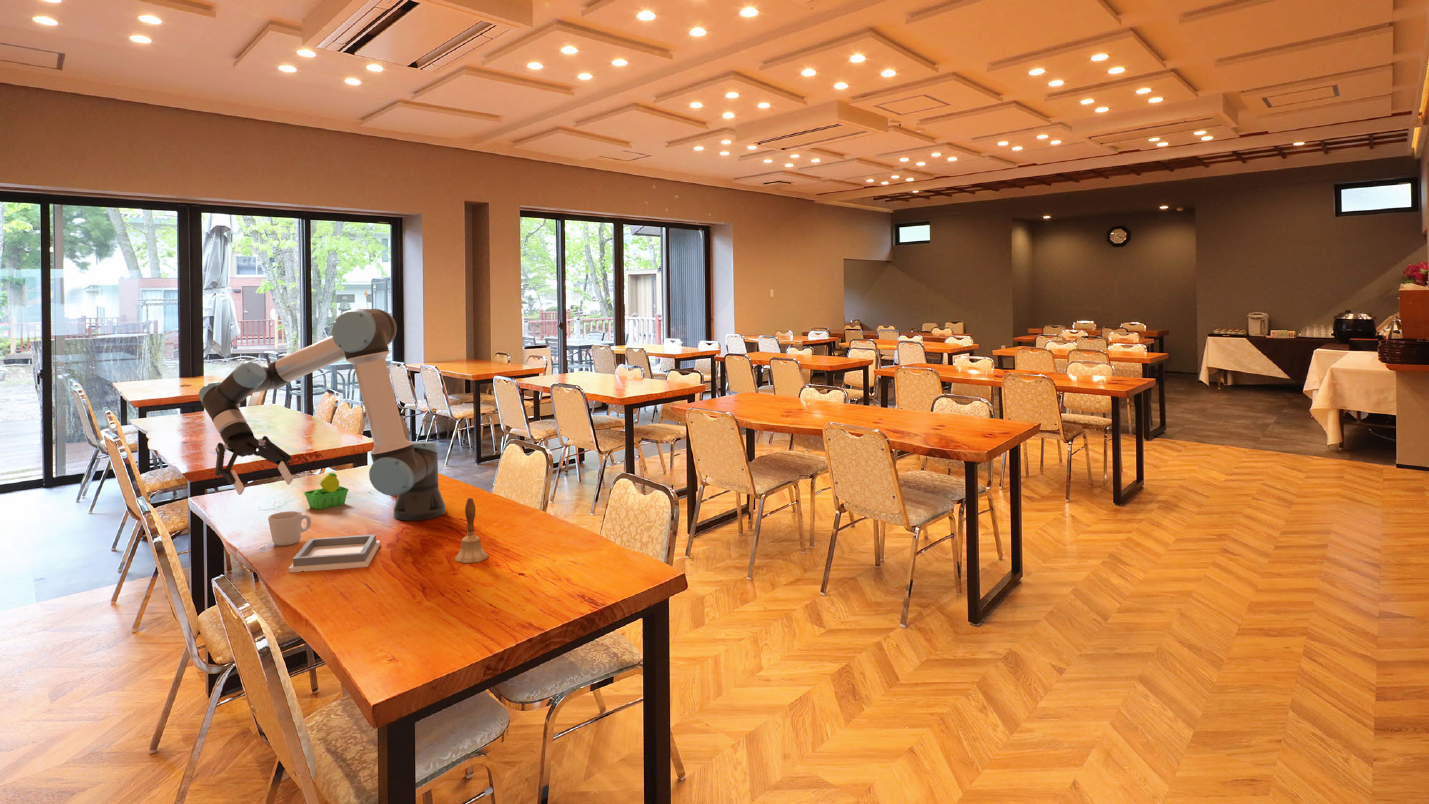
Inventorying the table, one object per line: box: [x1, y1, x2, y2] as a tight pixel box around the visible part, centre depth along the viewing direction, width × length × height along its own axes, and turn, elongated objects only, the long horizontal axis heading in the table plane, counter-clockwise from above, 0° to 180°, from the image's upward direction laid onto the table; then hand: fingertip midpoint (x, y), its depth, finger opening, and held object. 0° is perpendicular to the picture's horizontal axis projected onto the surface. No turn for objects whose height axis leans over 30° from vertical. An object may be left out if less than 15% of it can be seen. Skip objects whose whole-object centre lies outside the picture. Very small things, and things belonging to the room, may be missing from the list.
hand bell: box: [454, 497, 489, 564], centre depth 200 cm, size 8×8×16 cm
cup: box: [267, 510, 312, 547], centre depth 213 cm, size 11×8×8 cm
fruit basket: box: [303, 472, 350, 510], centre depth 249 cm, size 11×9×11 cm
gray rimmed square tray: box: [288, 533, 381, 573], centre depth 201 cm, size 18×18×3 cm
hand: (266, 486), depth 217 cm, fingers open, 13 cm apart
